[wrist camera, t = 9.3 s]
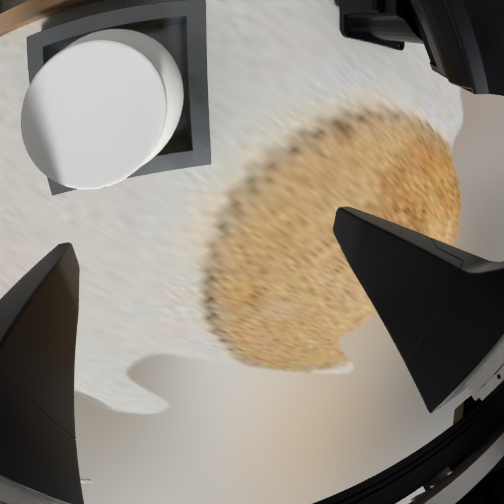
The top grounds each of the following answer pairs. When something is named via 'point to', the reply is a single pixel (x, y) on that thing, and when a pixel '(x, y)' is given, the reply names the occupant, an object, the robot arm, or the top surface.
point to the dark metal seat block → (180, 48)
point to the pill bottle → (101, 108)
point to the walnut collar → (34, 12)
